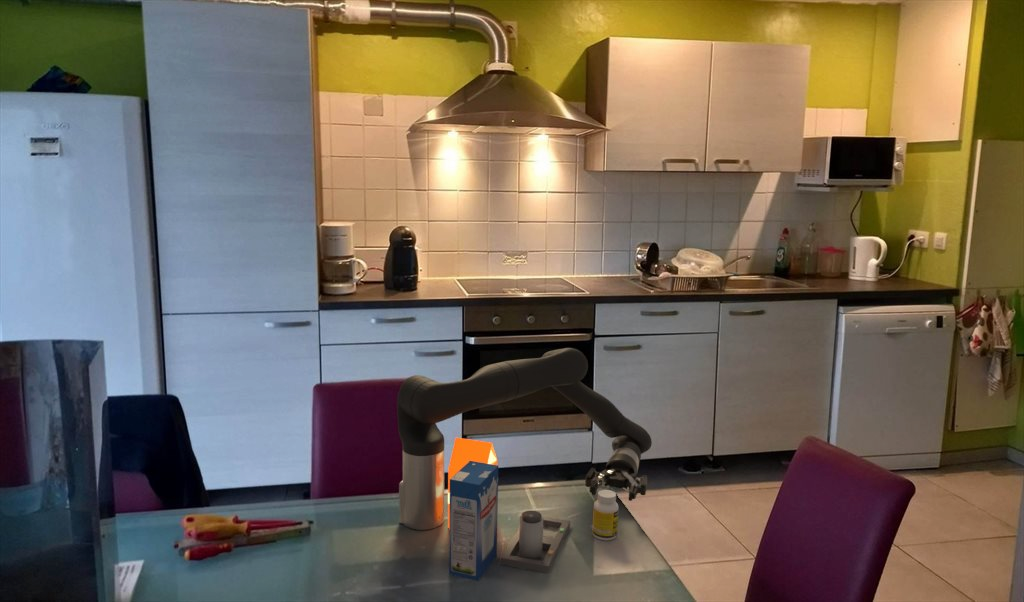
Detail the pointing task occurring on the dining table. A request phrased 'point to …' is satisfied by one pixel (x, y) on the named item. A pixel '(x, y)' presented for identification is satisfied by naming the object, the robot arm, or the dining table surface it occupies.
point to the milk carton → (473, 520)
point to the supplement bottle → (605, 516)
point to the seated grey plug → (531, 535)
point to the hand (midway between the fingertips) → (611, 494)
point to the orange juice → (468, 457)
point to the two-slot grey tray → (548, 544)
